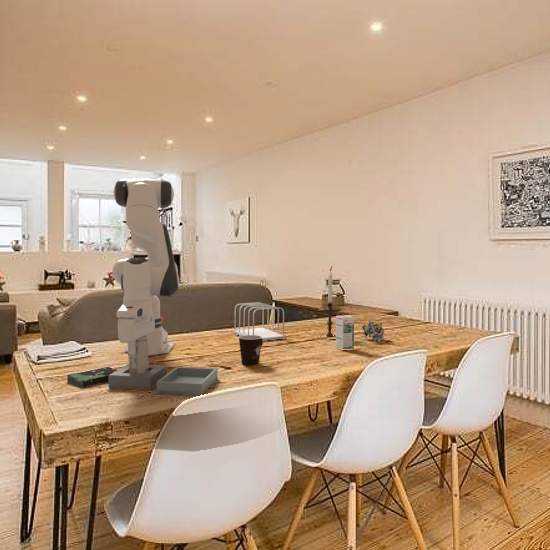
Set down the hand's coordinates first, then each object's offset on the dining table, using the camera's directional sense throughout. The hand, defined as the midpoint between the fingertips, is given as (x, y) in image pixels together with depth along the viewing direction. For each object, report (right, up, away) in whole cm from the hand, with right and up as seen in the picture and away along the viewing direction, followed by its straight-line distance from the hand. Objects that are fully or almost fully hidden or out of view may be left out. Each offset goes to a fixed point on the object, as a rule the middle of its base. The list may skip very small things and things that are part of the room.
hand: (138, 351), depth 155 cm
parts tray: (+17, -10, -3) cm, 20 cm away
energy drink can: (0, -10, +1) cm, 10 cm away
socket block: (0, -10, +1) cm, 10 cm away
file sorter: (+36, -6, +80) cm, 88 cm away
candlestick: (+70, -6, +76) cm, 104 cm away
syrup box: (+74, -8, +52) cm, 90 cm away
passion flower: (+90, -7, +71) cm, 114 cm away
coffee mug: (+36, -9, +27) cm, 46 cm away
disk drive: (-15, -11, +4) cm, 19 cm away
